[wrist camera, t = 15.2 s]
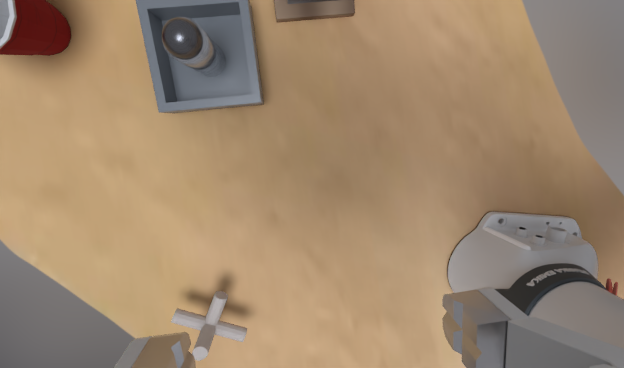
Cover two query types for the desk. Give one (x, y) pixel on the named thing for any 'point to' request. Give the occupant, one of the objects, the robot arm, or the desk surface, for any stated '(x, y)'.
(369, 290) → the desk surface
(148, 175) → the desk surface
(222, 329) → the pipe connector
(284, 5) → the socket plate
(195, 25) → the strut
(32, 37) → the plastic cup
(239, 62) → the bin
